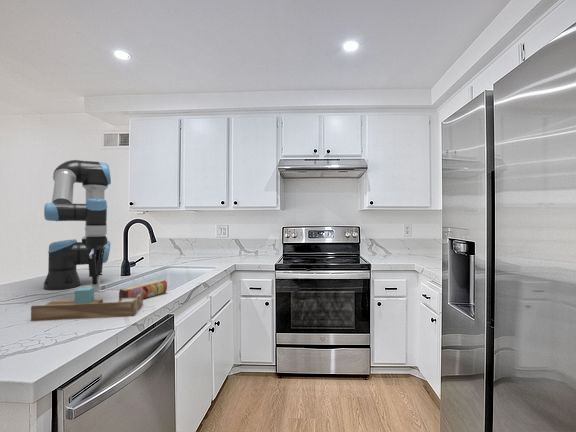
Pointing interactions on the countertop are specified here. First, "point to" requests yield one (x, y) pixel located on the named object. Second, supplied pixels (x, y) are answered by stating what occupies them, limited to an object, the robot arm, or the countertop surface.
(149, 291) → the snack package
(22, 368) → the countertop surface
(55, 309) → the trap board
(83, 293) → the teal block
